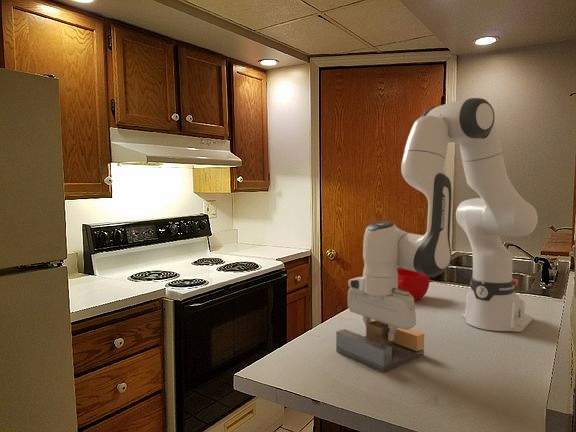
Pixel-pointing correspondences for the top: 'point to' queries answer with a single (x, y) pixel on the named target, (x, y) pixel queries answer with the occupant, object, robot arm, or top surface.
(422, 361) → the top surface
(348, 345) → the frame
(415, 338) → the block
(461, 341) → the top surface
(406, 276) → the ceramic cup
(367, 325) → the block
